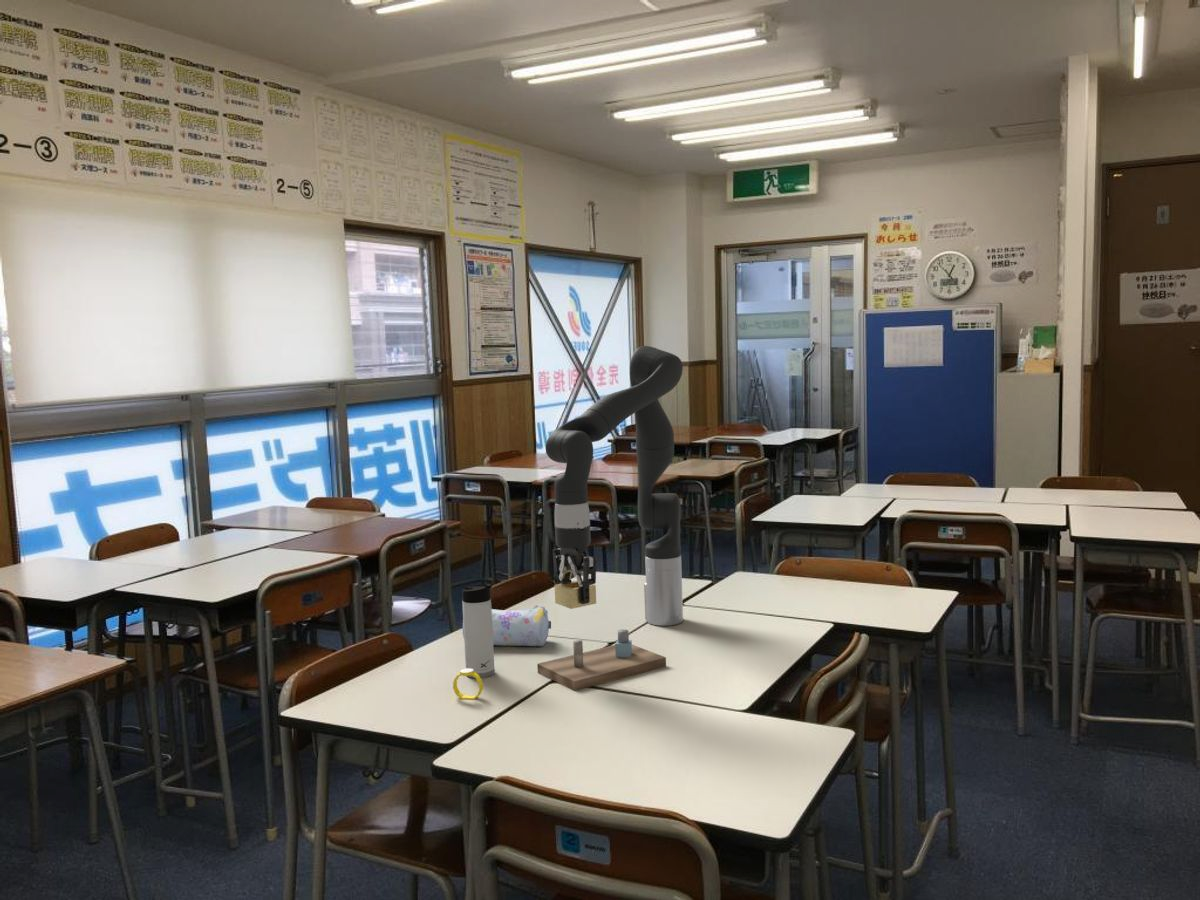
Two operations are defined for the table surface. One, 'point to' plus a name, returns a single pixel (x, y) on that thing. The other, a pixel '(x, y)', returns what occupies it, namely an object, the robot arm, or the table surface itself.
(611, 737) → the table surface
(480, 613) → the travel mug
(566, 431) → the robot arm
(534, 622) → the pencil case
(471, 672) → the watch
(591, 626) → the table surface
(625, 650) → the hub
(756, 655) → the table surface
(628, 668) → the workboard
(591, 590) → the collar
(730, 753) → the table surface
